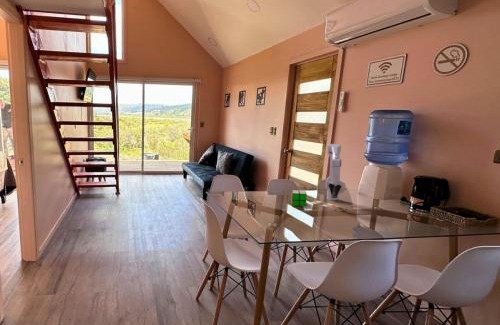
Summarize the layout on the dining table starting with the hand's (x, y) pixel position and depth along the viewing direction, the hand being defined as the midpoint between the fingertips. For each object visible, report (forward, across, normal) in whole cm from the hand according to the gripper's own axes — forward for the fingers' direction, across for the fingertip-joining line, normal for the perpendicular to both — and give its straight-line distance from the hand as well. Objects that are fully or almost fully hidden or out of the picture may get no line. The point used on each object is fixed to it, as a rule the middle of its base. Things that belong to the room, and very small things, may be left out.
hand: (334, 194), depth 212 cm
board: (+10, -5, 0) cm, 11 cm away
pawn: (+2, 0, 0) cm, 2 cm away
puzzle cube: (+10, -20, -14) cm, 27 cm away
